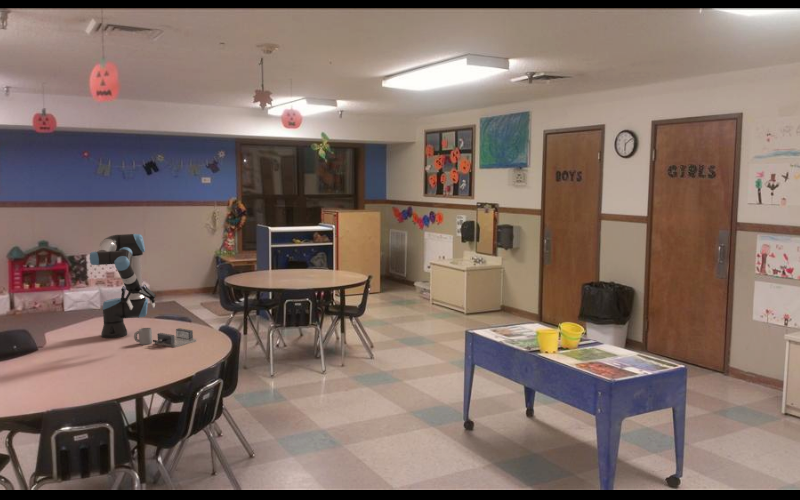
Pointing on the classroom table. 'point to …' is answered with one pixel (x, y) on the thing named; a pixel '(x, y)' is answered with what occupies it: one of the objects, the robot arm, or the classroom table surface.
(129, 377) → the classroom table surface
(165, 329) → the classroom table surface
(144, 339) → the cup
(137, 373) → the classroom table surface
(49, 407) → the classroom table surface
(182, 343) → the vise
